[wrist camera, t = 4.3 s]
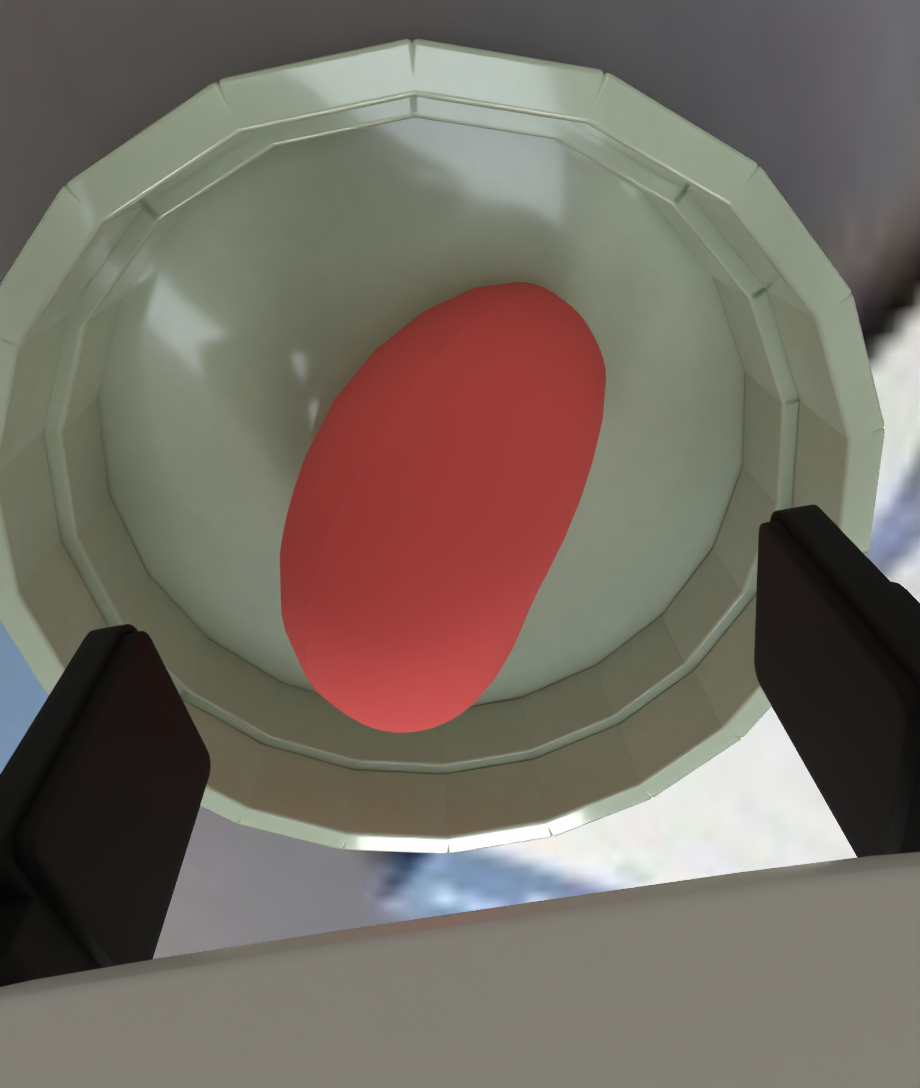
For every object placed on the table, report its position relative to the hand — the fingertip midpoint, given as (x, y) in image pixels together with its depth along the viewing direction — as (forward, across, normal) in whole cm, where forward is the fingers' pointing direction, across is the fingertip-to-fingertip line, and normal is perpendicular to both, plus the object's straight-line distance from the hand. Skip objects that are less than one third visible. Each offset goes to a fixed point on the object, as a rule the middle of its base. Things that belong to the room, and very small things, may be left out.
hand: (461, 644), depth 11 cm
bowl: (+6, 0, 0) cm, 6 cm away
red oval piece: (+6, 0, 0) cm, 6 cm away
